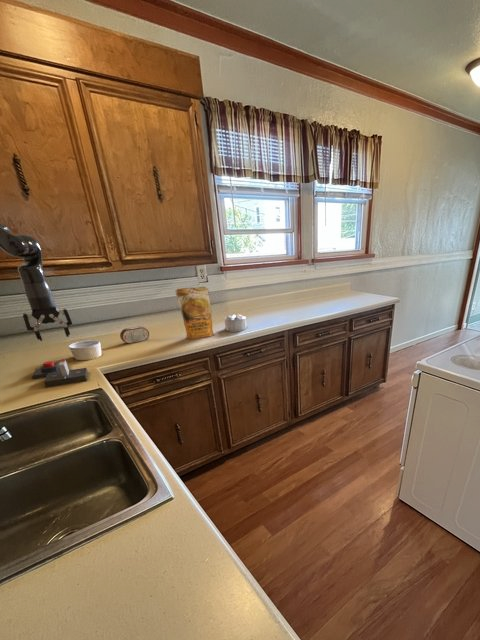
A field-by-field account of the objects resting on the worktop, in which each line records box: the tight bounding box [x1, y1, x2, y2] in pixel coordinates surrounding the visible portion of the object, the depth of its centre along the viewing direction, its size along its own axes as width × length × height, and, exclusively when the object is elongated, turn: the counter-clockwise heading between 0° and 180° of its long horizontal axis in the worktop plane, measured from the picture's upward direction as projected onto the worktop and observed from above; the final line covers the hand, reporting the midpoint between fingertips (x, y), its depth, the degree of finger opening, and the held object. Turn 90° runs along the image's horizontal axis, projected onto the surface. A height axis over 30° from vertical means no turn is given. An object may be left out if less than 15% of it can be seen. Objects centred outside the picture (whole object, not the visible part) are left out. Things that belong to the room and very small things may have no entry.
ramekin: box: [68, 339, 102, 361], centre depth 160 cm, size 13×13×7 cm
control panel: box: [43, 367, 89, 389], centre depth 135 cm, size 14×10×3 cm
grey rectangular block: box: [58, 359, 70, 377], centre depth 133 cm, size 6×2×5 cm, turn 28°
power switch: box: [31, 362, 70, 380], centre depth 141 cm, size 12×9×4 cm
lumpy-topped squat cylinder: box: [224, 313, 247, 333], centre depth 208 cm, size 10×13×9 cm
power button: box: [42, 360, 55, 368], centre depth 140 cm, size 4×4×2 cm
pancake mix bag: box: [175, 286, 215, 340], centre depth 188 cm, size 7×19×28 cm, turn 122°
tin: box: [119, 325, 150, 344], centre depth 183 cm, size 15×3×8 cm, turn 134°
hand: (54, 338), depth 127 cm, fingers open, 8 cm apart
